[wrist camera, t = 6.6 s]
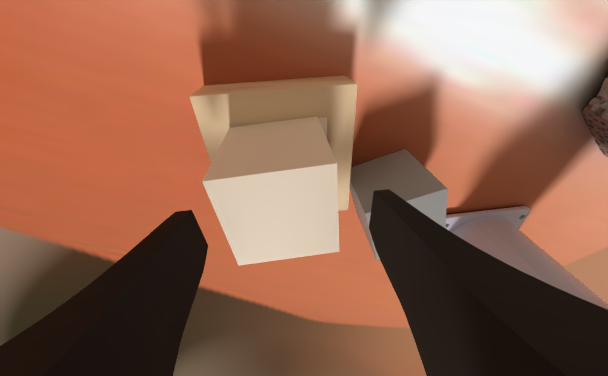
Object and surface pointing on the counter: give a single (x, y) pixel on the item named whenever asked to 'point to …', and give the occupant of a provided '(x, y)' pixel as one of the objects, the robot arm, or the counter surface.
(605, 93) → the rock
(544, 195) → the counter surface
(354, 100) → the maple slab
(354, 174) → the slate cube
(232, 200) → the ivory cube
